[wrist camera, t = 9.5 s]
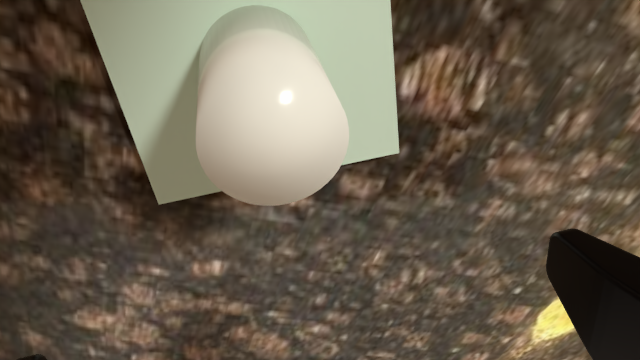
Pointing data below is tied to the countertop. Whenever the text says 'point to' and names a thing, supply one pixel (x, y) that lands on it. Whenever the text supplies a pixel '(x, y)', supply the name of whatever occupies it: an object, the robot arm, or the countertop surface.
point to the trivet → (183, 68)
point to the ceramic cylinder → (266, 109)
